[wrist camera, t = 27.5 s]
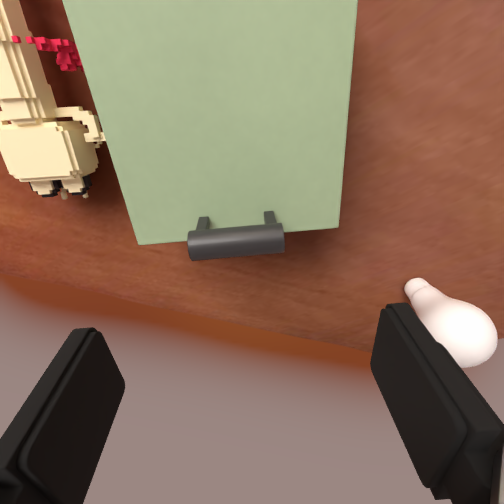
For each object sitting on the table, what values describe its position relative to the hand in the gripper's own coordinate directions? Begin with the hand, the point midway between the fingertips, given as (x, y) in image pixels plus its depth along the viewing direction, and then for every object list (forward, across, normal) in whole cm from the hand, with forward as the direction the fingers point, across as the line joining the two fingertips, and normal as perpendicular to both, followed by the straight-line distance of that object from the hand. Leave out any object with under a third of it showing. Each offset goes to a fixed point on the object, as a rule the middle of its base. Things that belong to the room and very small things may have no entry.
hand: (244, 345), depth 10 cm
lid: (+13, 0, -6) cm, 14 cm away
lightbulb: (+20, -19, +14) cm, 31 cm away
